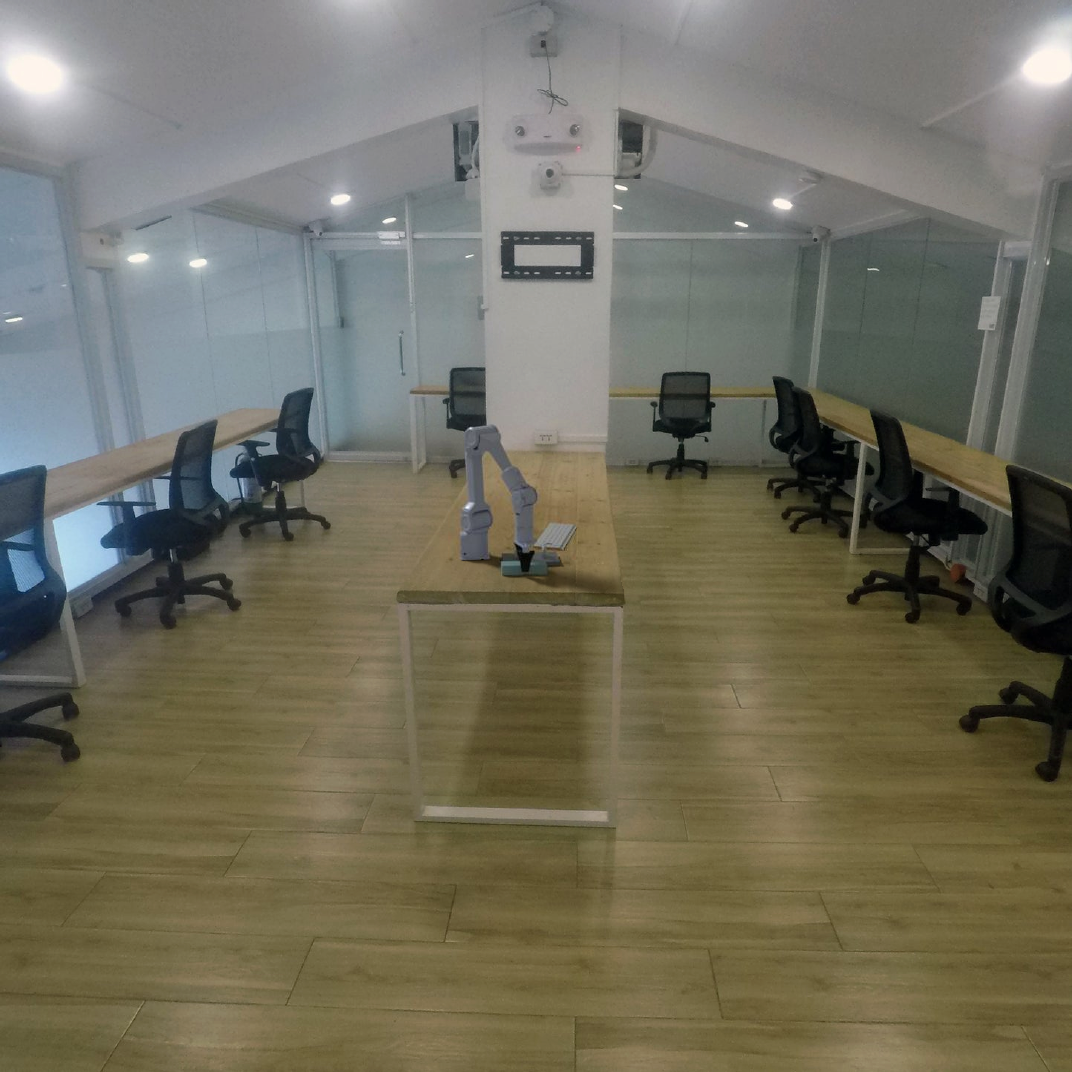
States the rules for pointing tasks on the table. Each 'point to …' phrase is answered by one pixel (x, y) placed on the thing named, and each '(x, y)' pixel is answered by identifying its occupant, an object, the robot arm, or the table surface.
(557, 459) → the table surface
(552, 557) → the peg stand
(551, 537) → the white ridged flat slab
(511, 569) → the teal rectangular block
